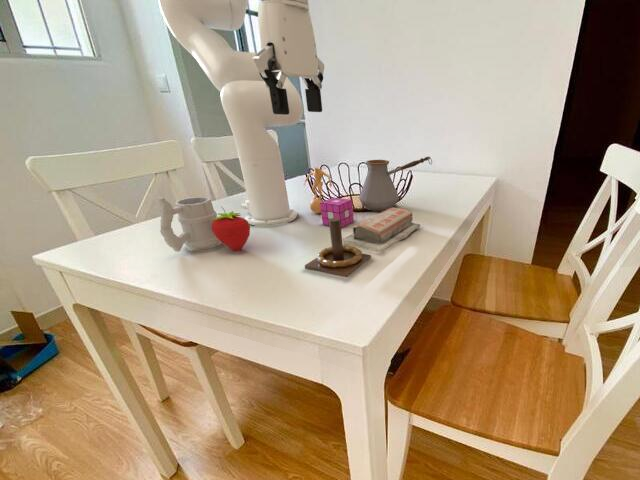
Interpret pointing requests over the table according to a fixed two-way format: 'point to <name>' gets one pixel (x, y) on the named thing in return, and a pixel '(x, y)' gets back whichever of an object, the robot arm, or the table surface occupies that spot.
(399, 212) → the packaged product
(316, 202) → the figurine
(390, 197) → the coffee pot
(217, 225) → the strawberry
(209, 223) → the mug
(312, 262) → the brown peg stand
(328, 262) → the ring
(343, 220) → the puzzle toy
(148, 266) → the table surface
